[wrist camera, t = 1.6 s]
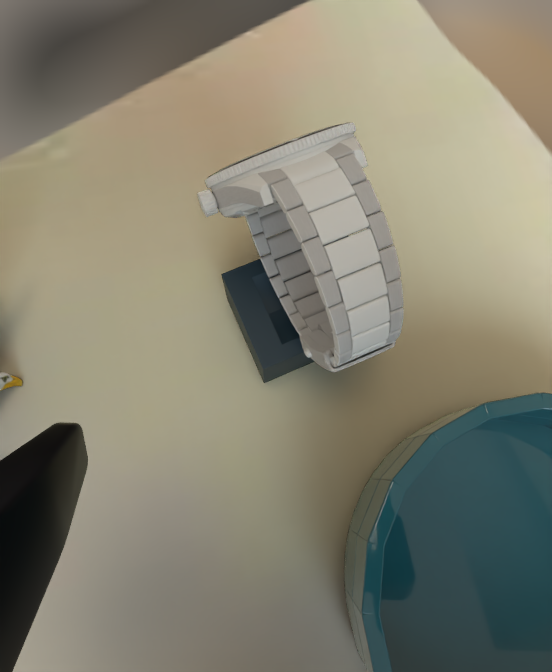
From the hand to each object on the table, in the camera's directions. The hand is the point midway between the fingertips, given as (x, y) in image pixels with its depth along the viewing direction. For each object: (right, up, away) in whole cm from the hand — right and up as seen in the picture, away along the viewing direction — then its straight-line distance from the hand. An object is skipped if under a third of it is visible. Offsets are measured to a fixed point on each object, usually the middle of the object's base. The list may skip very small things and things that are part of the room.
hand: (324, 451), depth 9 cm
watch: (0, +3, +14) cm, 15 cm away
